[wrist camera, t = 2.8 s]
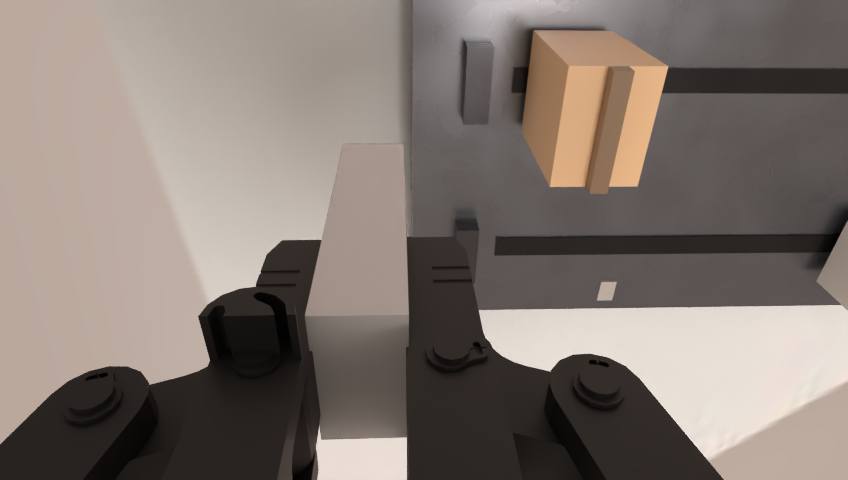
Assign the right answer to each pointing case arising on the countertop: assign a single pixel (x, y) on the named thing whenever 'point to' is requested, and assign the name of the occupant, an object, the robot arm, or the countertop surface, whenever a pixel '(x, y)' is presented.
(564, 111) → the block
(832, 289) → the fader
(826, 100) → the console
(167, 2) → the countertop surface
